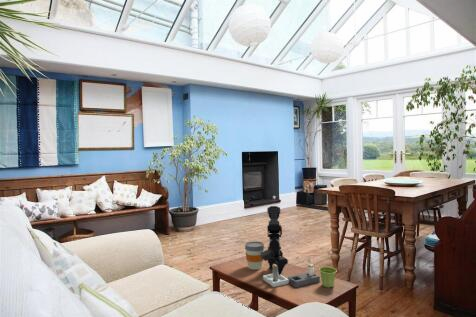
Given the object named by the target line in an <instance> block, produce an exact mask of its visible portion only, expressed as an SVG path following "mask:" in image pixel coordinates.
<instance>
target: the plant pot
mask: <svg viewBox="0 0 476 317" xmlns="http://www.w3.org/2000/svg"><path fill="white" fill-rule="evenodd" d="M318 270H319V273H320V279H321V284H322V286H323V287H324V288H333V287H334V286H335V279H336V278H335V277H336V273H337V272H338V270H337V269H336V268H335V267H331V266H323V267H322V266H321V267H320V268H318Z"/></svg>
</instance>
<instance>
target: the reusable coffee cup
mask: <svg viewBox="0 0 476 317" xmlns="http://www.w3.org/2000/svg"><path fill="white" fill-rule="evenodd" d="M244 247H245V248H244V249H245V257H246V258H245V259H246V261H247V266H248V269H250V270H261V269H262V268H263V261H264V260H263V259H262V257H261V253H262V252H264V251H265V243H264V242H261V241H249V242H245V244H244Z"/></svg>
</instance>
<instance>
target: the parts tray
mask: <svg viewBox="0 0 476 317" xmlns="http://www.w3.org/2000/svg"><path fill="white" fill-rule="evenodd" d="M262 280H263V281H264V282H266V283H267V284H268V285H270V286H271V287H272V288H275V287H281V286H283V285H288V284H290V283H289V280H288V277H285V276H284V275H282V274H281V275H279V274H278V281H273V272H272V273H268V274H263V275H262Z"/></svg>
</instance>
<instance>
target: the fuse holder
mask: <svg viewBox="0 0 476 317" xmlns="http://www.w3.org/2000/svg"><path fill="white" fill-rule="evenodd" d="M287 279H288V280H289V284H291V285H292V286H293V287H295V288H298V287H299V288H300V287H304V286H308V285H312V284H316V283H320V281H321V275H318V274H316V273H314V276H313V277H309V276H308V272H304V273H300V274H295V275H294V274H293V275H290V276H287Z"/></svg>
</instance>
